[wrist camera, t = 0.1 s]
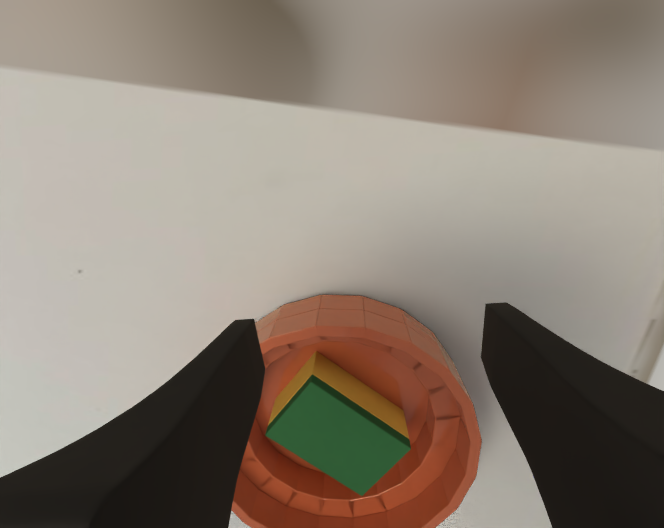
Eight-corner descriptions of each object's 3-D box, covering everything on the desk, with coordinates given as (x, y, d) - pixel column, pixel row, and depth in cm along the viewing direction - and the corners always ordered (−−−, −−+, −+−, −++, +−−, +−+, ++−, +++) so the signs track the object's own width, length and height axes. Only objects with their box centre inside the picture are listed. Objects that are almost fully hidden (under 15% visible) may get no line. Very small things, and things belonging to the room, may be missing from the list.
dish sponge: (360, 454, 26) (361, 497, 23) (275, 398, 25) (264, 435, 22) (403, 410, 25) (411, 449, 22) (316, 350, 24) (311, 382, 21)
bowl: (359, 523, 28) (361, 591, 24) (182, 415, 26) (149, 468, 22) (508, 384, 24) (542, 436, 20) (314, 242, 22) (305, 266, 18)
